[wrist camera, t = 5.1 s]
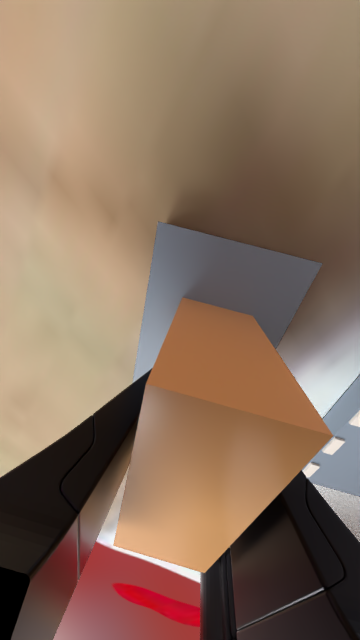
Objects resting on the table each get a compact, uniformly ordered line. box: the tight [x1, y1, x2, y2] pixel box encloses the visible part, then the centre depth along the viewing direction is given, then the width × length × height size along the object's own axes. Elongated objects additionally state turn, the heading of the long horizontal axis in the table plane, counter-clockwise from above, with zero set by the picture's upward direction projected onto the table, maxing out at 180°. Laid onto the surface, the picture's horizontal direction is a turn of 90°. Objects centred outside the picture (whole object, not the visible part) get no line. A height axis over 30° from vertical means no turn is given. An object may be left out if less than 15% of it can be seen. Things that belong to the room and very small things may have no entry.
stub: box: [113, 222, 333, 573], centre depth 7 cm, size 12×6×6 cm, turn 167°
